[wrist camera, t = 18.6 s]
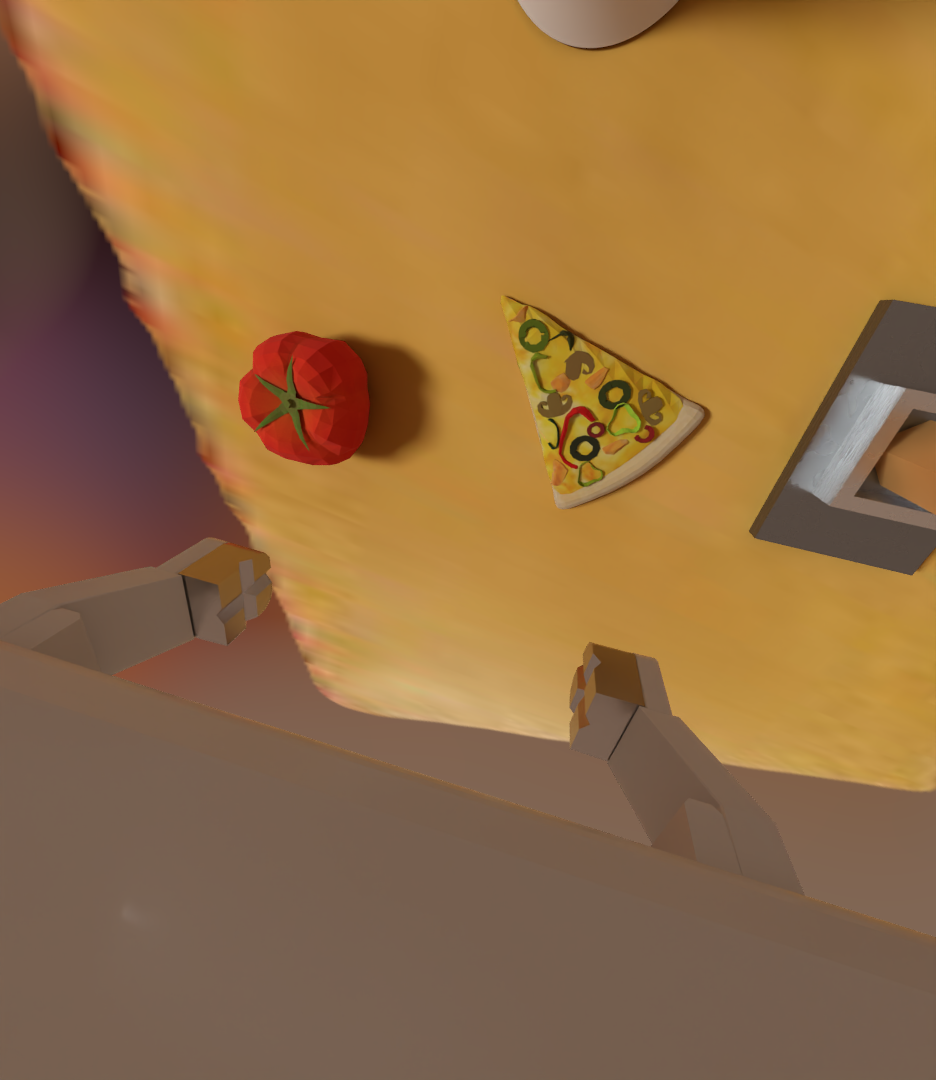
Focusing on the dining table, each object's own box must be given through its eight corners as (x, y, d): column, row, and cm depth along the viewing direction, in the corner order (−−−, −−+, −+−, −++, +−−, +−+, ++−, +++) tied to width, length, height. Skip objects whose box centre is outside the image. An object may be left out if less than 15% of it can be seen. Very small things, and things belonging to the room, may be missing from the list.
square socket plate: (879, 300, 32) (923, 298, 28) (1086, 337, 30) (1163, 340, 26) (748, 531, 42) (767, 553, 38) (900, 567, 40) (936, 593, 36)
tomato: (329, 473, 48) (286, 501, 41) (254, 376, 45) (192, 388, 38) (413, 413, 43) (381, 433, 36) (335, 298, 40) (282, 293, 32)
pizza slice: (568, 516, 45) (568, 528, 43) (442, 356, 41) (433, 359, 38) (711, 425, 39) (721, 432, 36) (579, 220, 34) (580, 212, 31)
